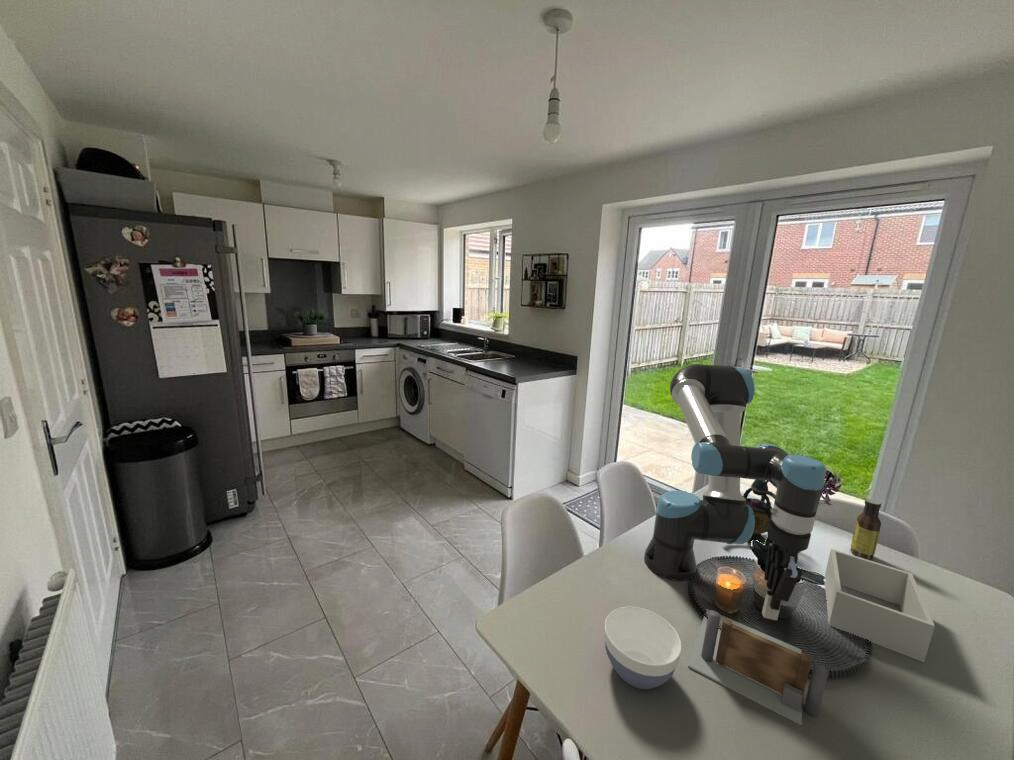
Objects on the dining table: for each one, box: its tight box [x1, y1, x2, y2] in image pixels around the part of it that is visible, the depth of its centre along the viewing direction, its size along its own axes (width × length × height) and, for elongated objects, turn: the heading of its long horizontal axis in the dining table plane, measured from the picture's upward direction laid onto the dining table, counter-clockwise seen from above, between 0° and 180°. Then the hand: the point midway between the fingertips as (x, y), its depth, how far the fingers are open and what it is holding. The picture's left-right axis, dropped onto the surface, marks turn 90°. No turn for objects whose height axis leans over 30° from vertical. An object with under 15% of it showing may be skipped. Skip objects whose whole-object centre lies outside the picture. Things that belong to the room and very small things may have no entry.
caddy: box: [824, 548, 936, 663], centre depth 111 cm, size 18×24×10 cm
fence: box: [687, 608, 829, 726], centre depth 93 cm, size 24×22×12 cm
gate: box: [715, 618, 812, 705], centre depth 88 cm, size 16×2×10 cm, turn 54°
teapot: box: [742, 479, 776, 545], centre depth 143 cm, size 12×25×23 cm, turn 107°
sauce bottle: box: [849, 498, 882, 561], centre depth 138 cm, size 6×6×20 cm
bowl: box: [603, 606, 683, 690], centre depth 90 cm, size 16×16×10 cm
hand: (769, 616), depth 95 cm, fingers closed
